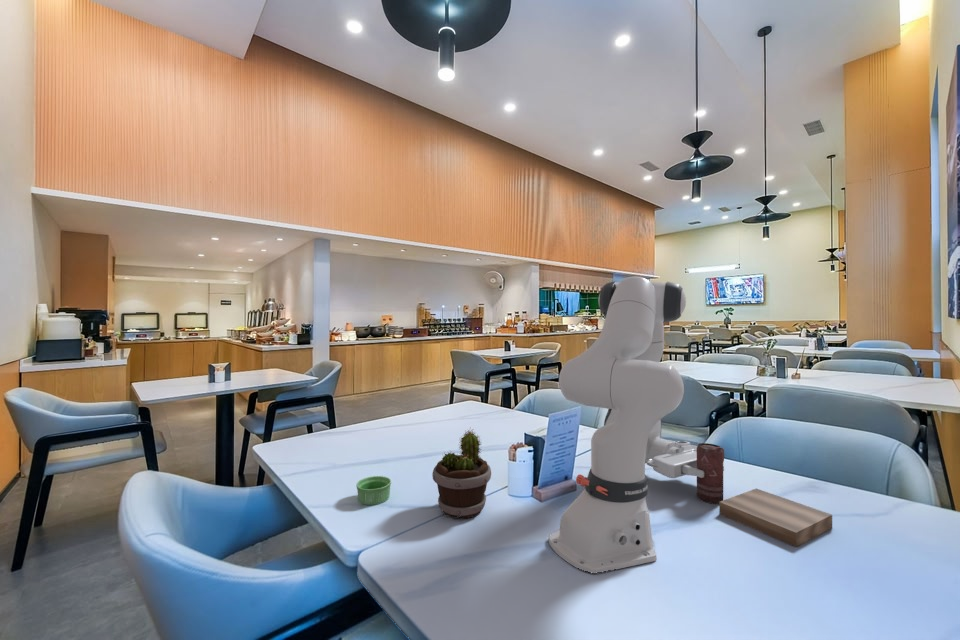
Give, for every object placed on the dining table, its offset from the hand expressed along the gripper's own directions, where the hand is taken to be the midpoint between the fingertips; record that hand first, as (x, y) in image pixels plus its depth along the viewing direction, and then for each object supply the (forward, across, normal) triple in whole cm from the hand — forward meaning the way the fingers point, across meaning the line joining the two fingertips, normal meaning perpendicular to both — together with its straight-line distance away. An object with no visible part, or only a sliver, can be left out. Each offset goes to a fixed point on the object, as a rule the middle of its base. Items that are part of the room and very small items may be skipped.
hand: (713, 471), depth 105 cm
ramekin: (-44, -78, +8) cm, 90 cm away
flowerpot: (-27, -60, +8) cm, 66 cm away
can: (-1, 0, +8) cm, 8 cm away
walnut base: (+13, +2, +8) cm, 15 cm away
